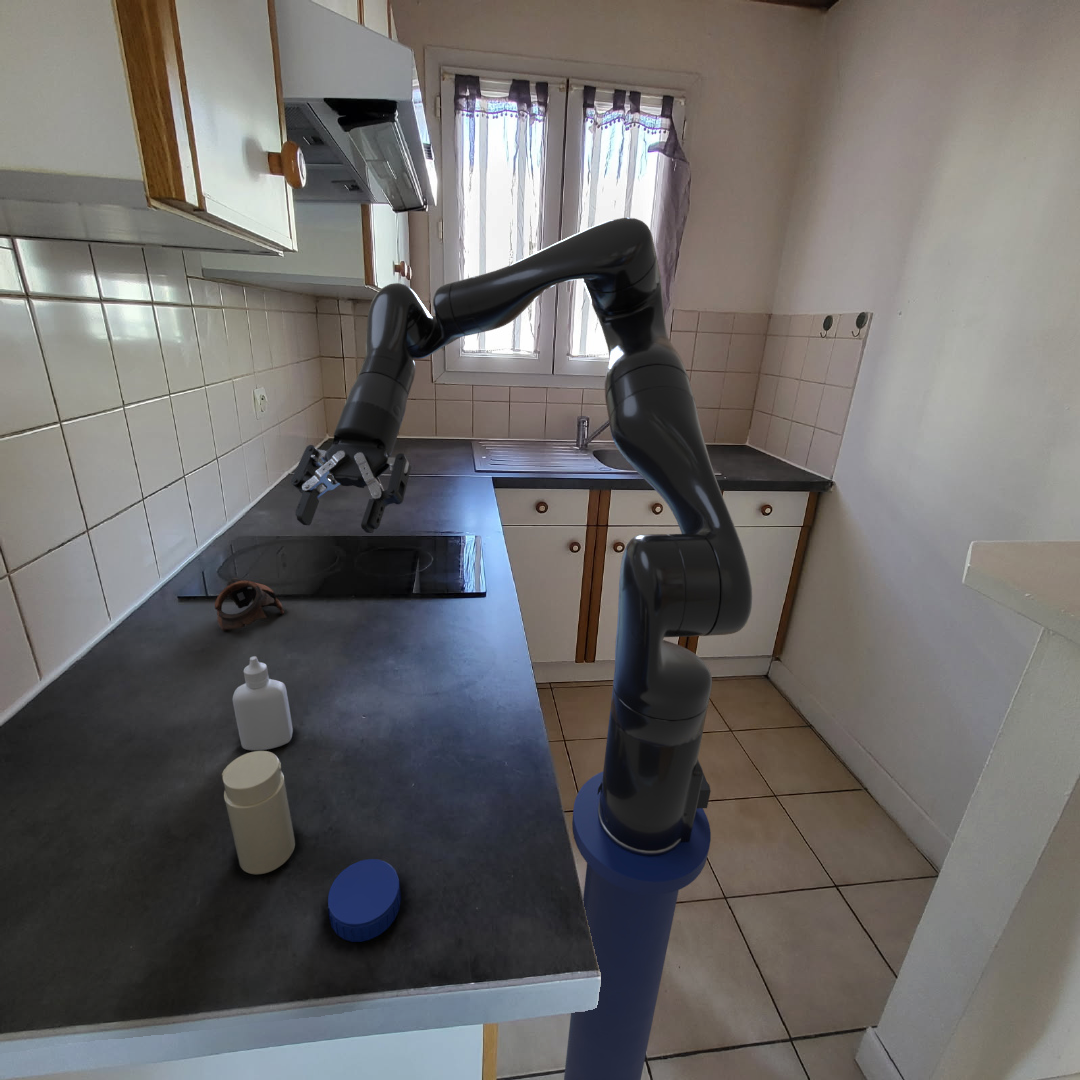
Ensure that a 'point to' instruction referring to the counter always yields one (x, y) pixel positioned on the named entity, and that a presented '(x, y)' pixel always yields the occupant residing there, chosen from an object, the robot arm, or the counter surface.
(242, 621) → the brown curved piece
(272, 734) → the eye dropper bottle
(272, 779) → the jar
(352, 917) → the lid
